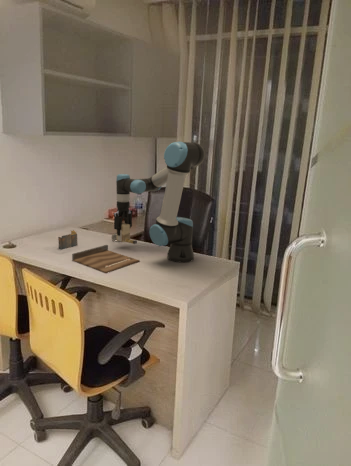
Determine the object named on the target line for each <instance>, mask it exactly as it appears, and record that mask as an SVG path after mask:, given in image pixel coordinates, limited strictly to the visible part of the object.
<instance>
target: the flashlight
mask: <svg viewBox="0 0 351 466" xmlns="http://www.w3.org/2000/svg"><path fill="white" fill-rule="evenodd" d="M111 240H112V241H113V242H114V241H115V240H117V232H115V233H113V234H112V235H111ZM118 242H119V241H115V242H114V243H118Z"/></svg>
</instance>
